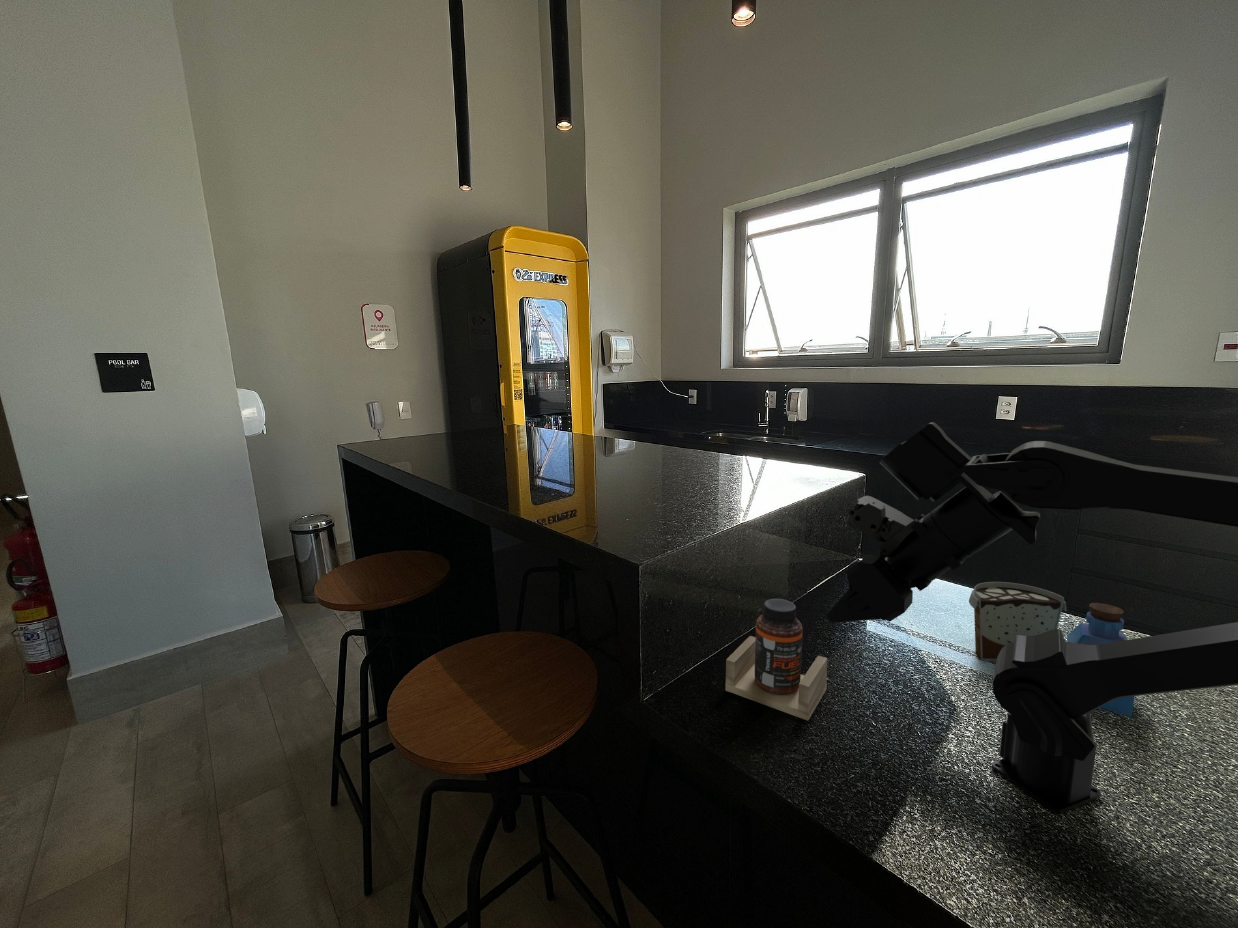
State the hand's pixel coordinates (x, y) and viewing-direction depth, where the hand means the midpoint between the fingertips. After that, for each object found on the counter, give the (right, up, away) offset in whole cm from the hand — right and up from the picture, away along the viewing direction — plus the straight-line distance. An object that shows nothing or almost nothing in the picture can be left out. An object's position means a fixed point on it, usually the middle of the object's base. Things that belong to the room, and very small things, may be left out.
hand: (842, 607), depth 63 cm
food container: (+31, -11, +15) cm, 36 cm away
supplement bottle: (-6, -12, +6) cm, 15 cm away
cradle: (-6, -13, +6) cm, 16 cm away
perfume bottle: (+34, -13, +4) cm, 37 cm away
